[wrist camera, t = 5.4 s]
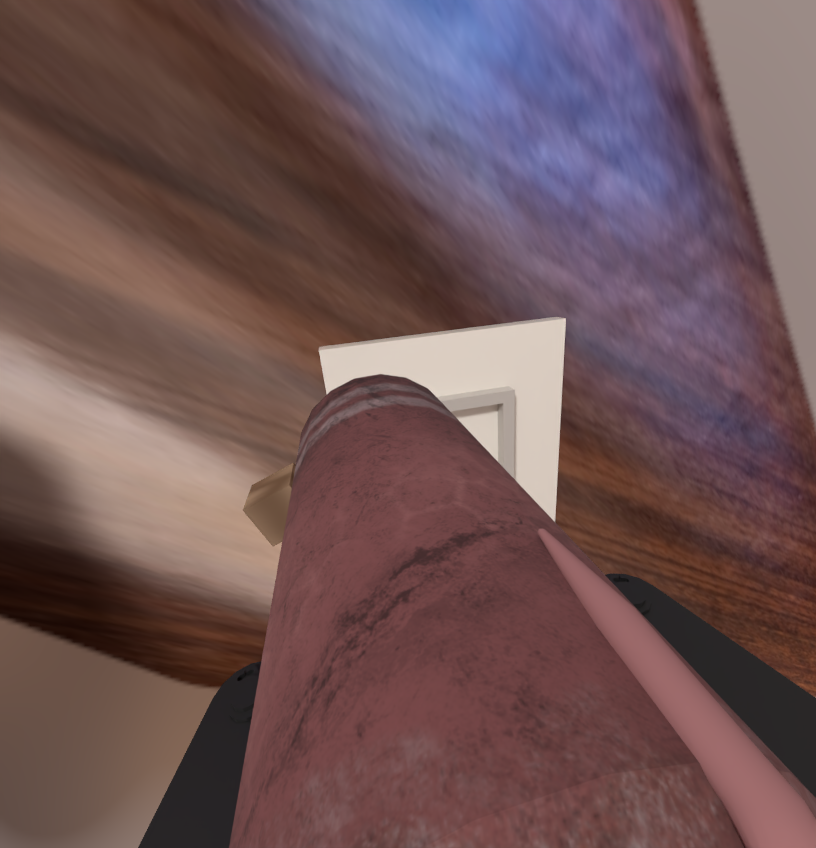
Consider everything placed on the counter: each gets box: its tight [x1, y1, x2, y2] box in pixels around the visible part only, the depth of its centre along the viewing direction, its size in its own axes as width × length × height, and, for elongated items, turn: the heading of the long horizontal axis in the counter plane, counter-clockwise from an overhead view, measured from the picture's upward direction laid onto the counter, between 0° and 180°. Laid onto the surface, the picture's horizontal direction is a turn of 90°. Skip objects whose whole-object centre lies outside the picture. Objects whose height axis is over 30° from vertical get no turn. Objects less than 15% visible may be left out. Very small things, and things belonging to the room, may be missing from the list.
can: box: [229, 374, 816, 848], centre depth 9 cm, size 6×6×14 cm
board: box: [319, 317, 566, 522], centre depth 34 cm, size 20×20×3 cm
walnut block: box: [243, 463, 296, 546], centre depth 32 cm, size 4×4×4 cm
